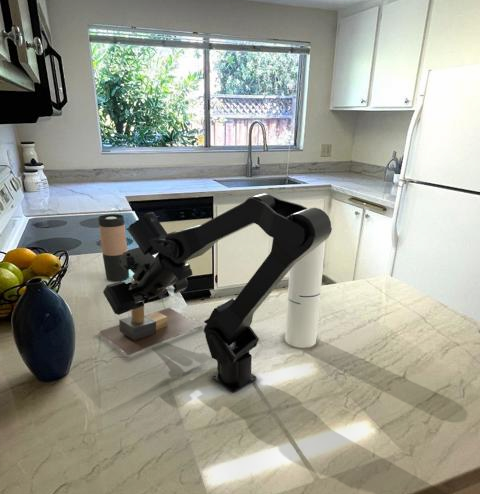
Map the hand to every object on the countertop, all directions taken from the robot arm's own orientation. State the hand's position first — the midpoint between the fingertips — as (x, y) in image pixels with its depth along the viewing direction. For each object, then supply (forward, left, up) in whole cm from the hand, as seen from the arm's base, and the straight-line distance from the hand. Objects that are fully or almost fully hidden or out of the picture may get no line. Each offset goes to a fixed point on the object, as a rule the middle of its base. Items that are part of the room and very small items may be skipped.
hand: (134, 304), depth 93 cm
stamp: (-2, +1, -6) cm, 7 cm away
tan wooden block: (-1, -5, -7) cm, 8 cm away
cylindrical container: (-28, -27, -8) cm, 40 cm away
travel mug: (+38, -15, -8) cm, 42 cm away
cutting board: (-1, -3, -8) cm, 9 cm away
